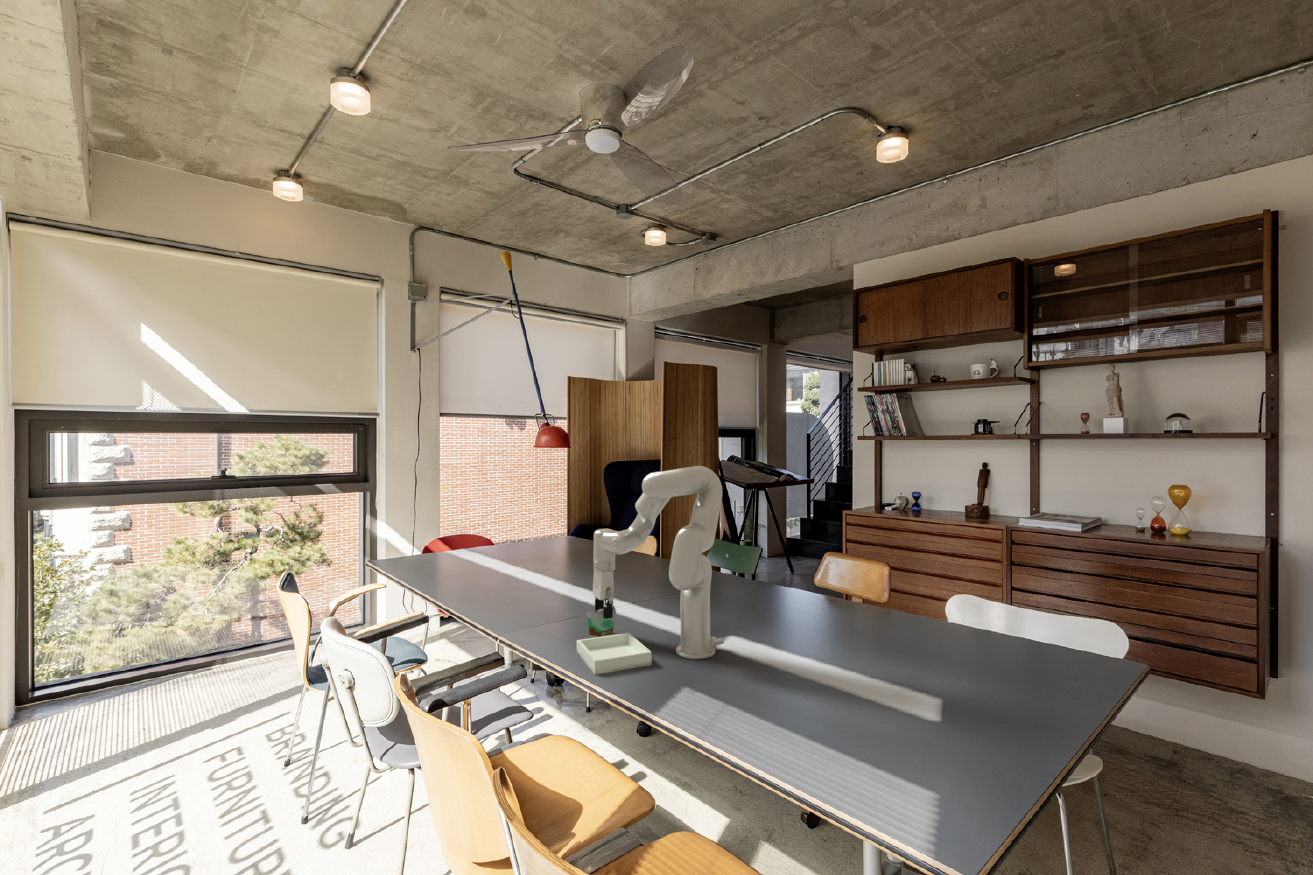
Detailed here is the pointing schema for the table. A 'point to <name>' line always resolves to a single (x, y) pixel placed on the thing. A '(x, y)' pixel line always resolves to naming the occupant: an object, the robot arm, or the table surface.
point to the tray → (613, 653)
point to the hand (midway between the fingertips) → (603, 613)
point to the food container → (600, 623)
